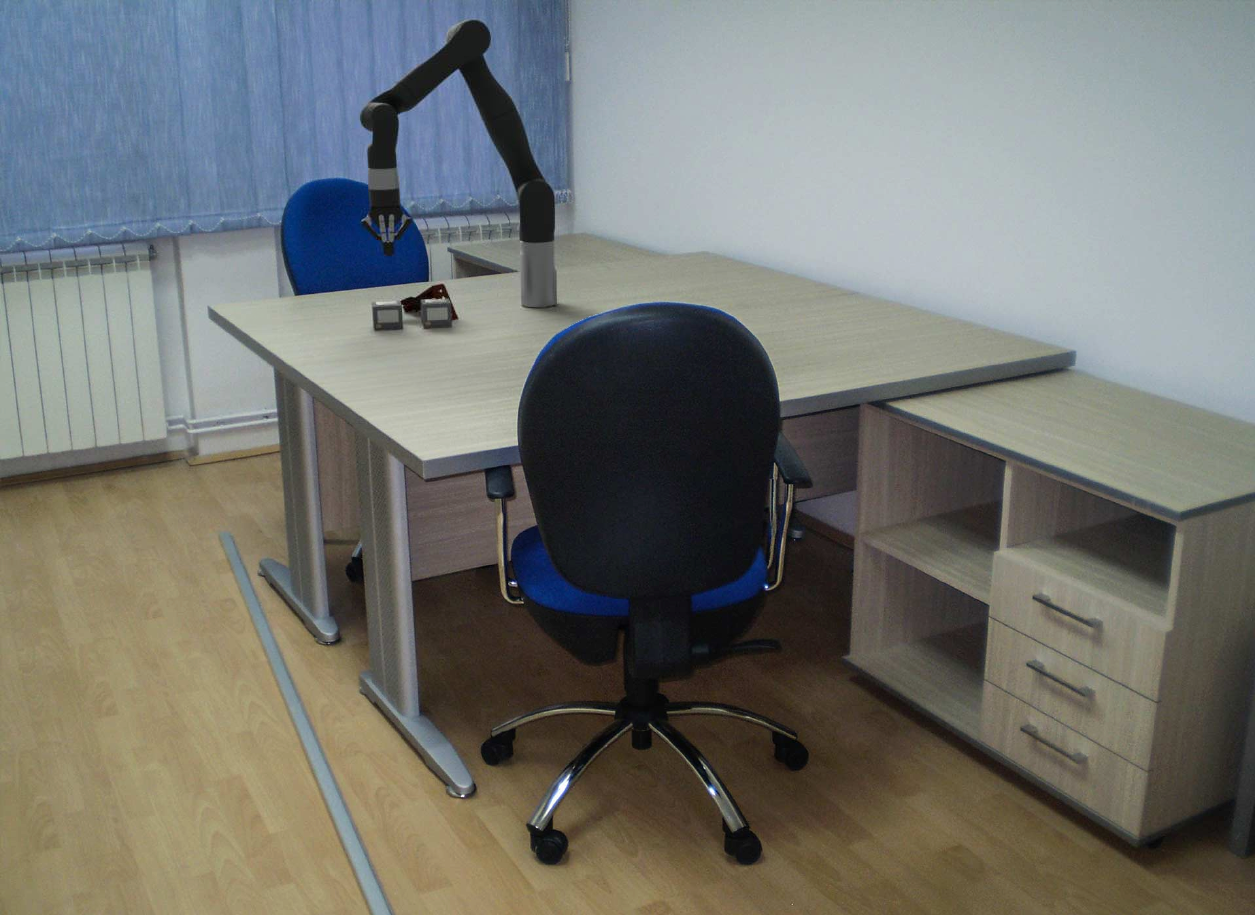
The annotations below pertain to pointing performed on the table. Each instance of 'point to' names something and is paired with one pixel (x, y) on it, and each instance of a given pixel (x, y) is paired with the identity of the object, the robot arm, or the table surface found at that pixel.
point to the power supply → (387, 315)
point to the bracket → (430, 293)
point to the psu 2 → (436, 313)
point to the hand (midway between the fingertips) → (388, 256)
